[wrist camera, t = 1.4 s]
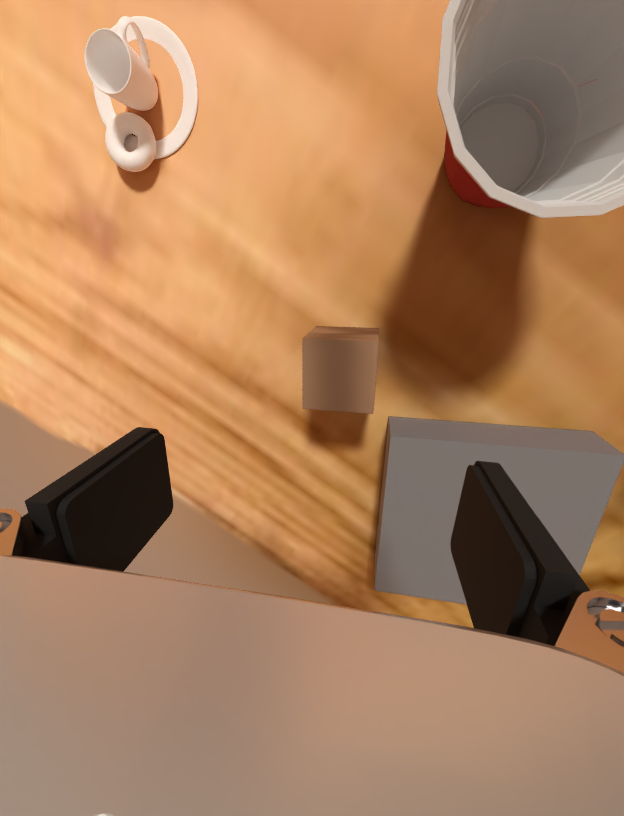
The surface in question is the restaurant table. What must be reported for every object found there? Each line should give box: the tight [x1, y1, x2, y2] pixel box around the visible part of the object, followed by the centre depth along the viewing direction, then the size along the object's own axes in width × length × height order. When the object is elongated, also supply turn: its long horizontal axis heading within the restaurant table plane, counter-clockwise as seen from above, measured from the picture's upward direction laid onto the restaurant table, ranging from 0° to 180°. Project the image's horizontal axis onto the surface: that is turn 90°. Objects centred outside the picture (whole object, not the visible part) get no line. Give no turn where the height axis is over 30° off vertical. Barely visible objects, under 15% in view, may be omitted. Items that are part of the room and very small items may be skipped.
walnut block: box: [303, 326, 379, 414], centre depth 26 cm, size 5×5×6 cm
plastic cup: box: [437, 0, 624, 218], centre depth 17 cm, size 11×11×12 cm
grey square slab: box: [375, 416, 624, 604], centre depth 30 cm, size 16×16×4 cm
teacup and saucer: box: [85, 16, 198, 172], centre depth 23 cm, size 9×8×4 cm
